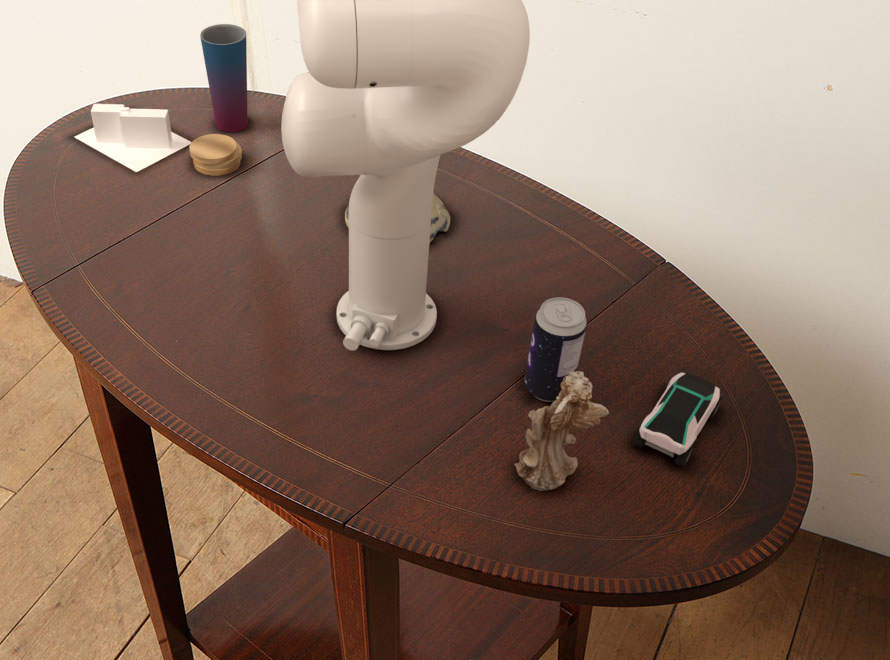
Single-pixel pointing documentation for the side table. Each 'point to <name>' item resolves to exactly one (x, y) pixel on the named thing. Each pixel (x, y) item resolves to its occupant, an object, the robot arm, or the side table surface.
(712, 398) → the toy car
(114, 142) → the napkin holder
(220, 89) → the cup
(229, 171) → the chip pile
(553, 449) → the figurine
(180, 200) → the side table surface
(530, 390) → the beverage can
